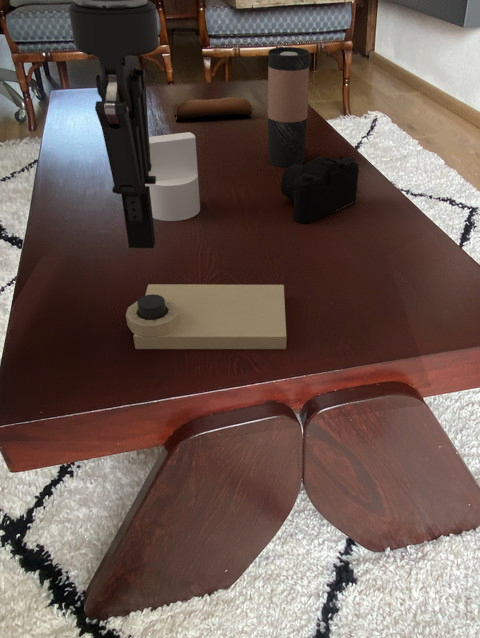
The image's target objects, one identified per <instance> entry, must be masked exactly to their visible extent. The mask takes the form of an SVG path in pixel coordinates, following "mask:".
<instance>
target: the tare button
mask: <svg viewBox="0 0 480 638" xmlns="http://www.w3.org/2000/svg"><path fill="white" fill-rule="evenodd" d="M137 301H138V302H137ZM137 301H136V302H137V304H138V310H139V316H140V317H141V318H142V319H145V320H156V319H160V318H163V317H164V316H165V315H166V306H165V299H164V298H163V297H162V296H160V295H155V294H151V295H146V296H145V295H143V296H141V297H139V298H138V300H137Z"/></svg>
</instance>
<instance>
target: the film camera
mask: <svg viewBox="0 0 480 638" xmlns="http://www.w3.org/2000/svg"><path fill="white" fill-rule="evenodd" d="M359 169H360V167H359V163H357V162H356V161H355V159H354V158H353V157H345V158H343V156H342V155H339V156H338V157H337V158H336V159H334V158H331V157H327V158H325V157H323V156H321V155H320V156H318V157H315V158H313V159H311V160H310V161H308V162H307V163H305V164H304V165H303V164H301V165H297V164H295V165H291V166H290V167H286V169H285V170H284V171H283V174H282V176H281V182H280V184H279V185H280V191H281V193H282V195H283V196H284V197H286V198H287V199H288V200H289V201H291V202H293V213H292V217H293V220H294V221H295V222H296V223H299V224H309V223H313V222H315V221H317V220H320V219H322V218H324V216H325V217H327V216H329V215H331V214H330V213H332V212H334V211H336V210H337V209H340V208H342V207H344V206H346V205H348V204H350V203H352V202H354V201H355V200H356V201H357V192H358V191H357V190H358V181H359V173H360V172H359V171H360V170H359ZM356 201H355V202H356ZM355 202H354V203H355ZM336 212H337V211H336ZM334 213H335V212H334ZM328 214H329V215H328ZM332 214H333V213H332ZM326 215H327V216H326Z"/></svg>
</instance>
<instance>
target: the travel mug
mask: <svg viewBox="0 0 480 638" xmlns="http://www.w3.org/2000/svg"><path fill="white" fill-rule="evenodd" d="M267 67H268V69H267V71H268V73H267V78H268V79H267V86H268V87H267V132H268V133H267V135H268V137H267V138H268V160H269V164H271V165H273V166H276V167H281V168H288V167H290V166H291V165H295V164H297V165H300V164H301V163H303V162H304V163H305V154H306V143H307V128H308V109H309V106H308V105H309V80H310V77H309V76H310V51H309V50H308V49H306V48H303V47H295V46H294V47H293V46H280V47H273V48H271V49H269V50H268V66H267ZM304 163H303V164H304ZM301 165H302V164H301Z"/></svg>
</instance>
